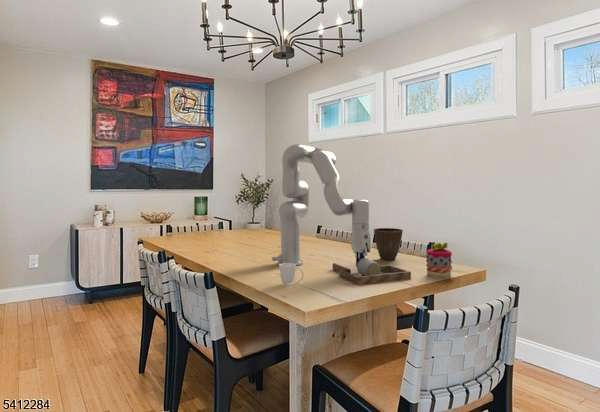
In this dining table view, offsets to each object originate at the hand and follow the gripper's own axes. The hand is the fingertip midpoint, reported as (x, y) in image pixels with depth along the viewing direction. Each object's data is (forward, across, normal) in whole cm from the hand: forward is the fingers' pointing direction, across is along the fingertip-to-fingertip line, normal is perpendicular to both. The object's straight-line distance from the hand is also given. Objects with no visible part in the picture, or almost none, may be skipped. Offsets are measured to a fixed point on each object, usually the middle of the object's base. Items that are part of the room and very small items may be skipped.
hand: (360, 266), depth 179 cm
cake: (+3, -19, -28) cm, 34 cm away
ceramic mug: (+3, -9, 0) cm, 9 cm away
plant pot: (+3, +20, -29) cm, 35 cm away
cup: (+3, -9, +37) cm, 38 cm away
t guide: (+2, -5, 0) cm, 5 cm away
